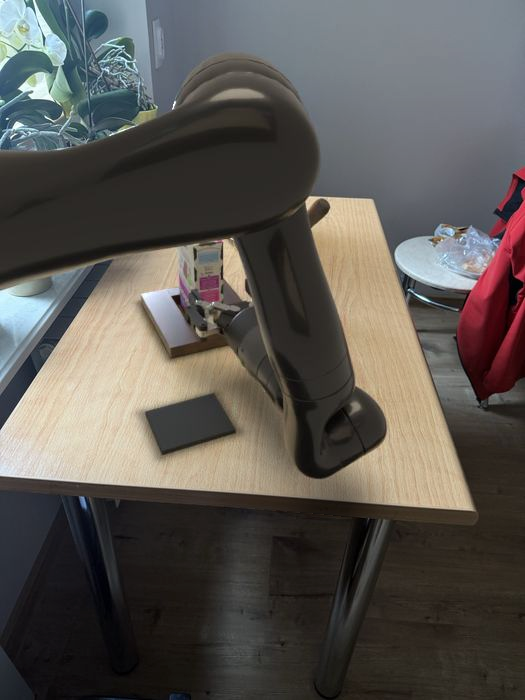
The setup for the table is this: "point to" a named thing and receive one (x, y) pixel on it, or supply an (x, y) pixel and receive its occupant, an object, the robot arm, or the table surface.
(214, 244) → the candy bar box
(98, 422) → the table surface
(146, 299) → the board
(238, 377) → the table surface
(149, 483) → the table surface
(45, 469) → the table surface
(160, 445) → the mat
